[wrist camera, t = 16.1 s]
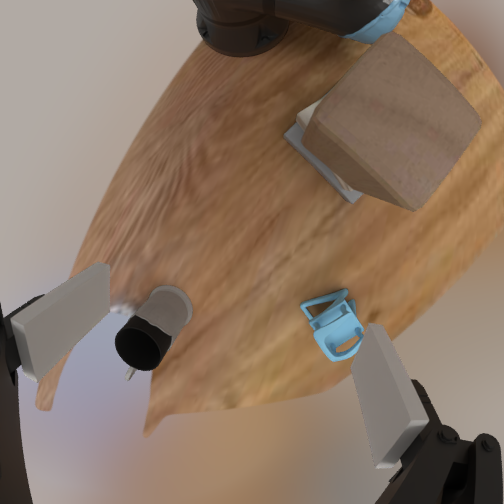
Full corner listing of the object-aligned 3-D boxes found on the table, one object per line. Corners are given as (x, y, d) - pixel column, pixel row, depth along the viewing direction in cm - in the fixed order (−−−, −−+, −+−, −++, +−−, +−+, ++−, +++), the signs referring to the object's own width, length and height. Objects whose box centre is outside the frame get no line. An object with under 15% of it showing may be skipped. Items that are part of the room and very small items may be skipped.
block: (345, 87, 34) (392, 22, 15) (402, 138, 35) (490, 122, 16) (297, 142, 37) (306, 116, 18) (357, 193, 38) (418, 220, 18)
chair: (361, 310, 52) (379, 345, 40) (322, 335, 54) (331, 374, 42) (339, 277, 51) (355, 307, 39) (299, 304, 52) (303, 339, 41)
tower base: (342, 81, 43) (348, 73, 38) (401, 143, 44) (413, 141, 39) (283, 138, 46) (283, 134, 41) (345, 200, 48) (352, 204, 43)
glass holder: (200, 301, 54) (174, 345, 40) (171, 354, 58) (144, 402, 43) (158, 276, 54) (120, 311, 39) (133, 332, 57) (98, 374, 43)
